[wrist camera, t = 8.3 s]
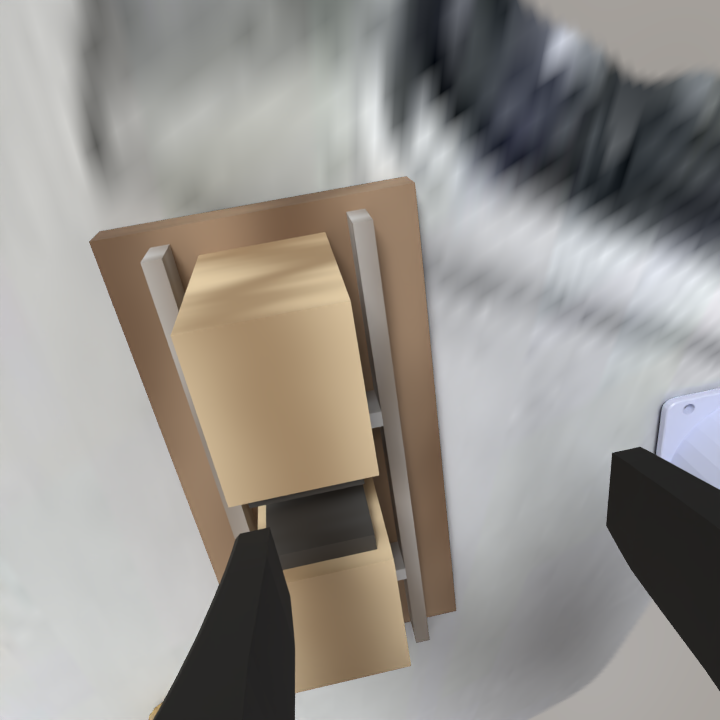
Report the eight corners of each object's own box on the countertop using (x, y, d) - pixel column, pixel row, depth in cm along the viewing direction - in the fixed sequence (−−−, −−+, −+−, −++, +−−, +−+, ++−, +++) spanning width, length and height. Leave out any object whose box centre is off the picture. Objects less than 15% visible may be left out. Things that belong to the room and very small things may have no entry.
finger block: (360, 427, 21) (391, 544, 16) (378, 535, 24) (411, 665, 19) (255, 448, 21) (252, 575, 16) (285, 555, 24) (291, 693, 19)
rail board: (406, 176, 19) (479, 232, 12) (448, 590, 28) (502, 742, 22) (99, 231, 18) (10, 320, 12) (248, 636, 27) (243, 806, 21)
